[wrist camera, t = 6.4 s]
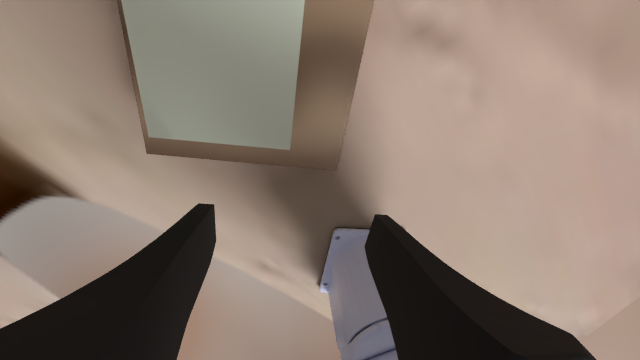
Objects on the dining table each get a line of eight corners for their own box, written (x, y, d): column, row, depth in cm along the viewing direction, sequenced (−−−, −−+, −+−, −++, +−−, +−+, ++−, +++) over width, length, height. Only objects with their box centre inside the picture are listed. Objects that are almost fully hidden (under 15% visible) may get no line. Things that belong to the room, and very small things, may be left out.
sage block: (288, 109, 15) (289, 150, 10) (199, 98, 14) (148, 137, 9) (297, 9, 12) (305, -8, 7) (189, -12, 11) (111, -48, 6)
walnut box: (328, 148, 21) (336, 170, 17) (172, 131, 18) (146, 153, 15) (363, -35, 15) (386, -56, 11) (143, -91, 13) (90, -138, 9)
